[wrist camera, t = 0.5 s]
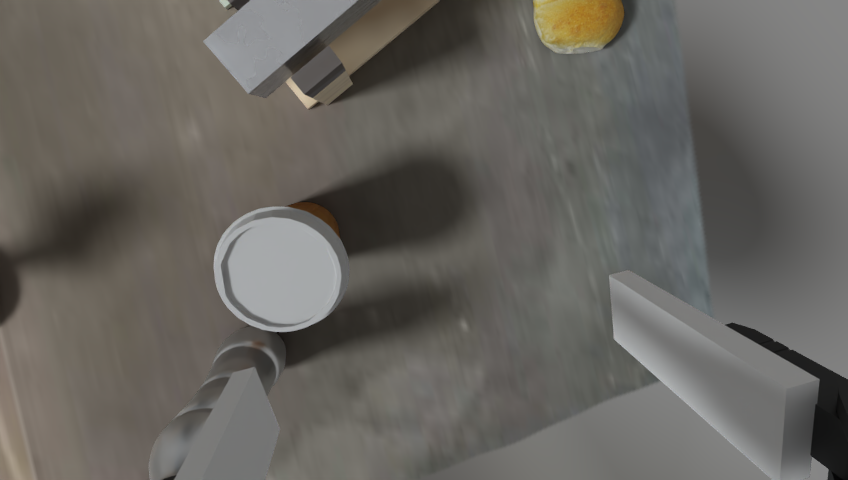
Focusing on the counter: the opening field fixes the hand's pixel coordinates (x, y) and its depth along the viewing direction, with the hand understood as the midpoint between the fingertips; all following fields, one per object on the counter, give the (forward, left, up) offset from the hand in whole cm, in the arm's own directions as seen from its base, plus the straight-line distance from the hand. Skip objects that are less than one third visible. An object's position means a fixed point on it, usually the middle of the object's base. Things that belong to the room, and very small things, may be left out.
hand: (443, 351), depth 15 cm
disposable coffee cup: (-4, -9, -27) cm, 28 cm away
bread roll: (-5, +24, -27) cm, 37 cm away
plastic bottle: (+2, -21, -27) cm, 34 cm away
